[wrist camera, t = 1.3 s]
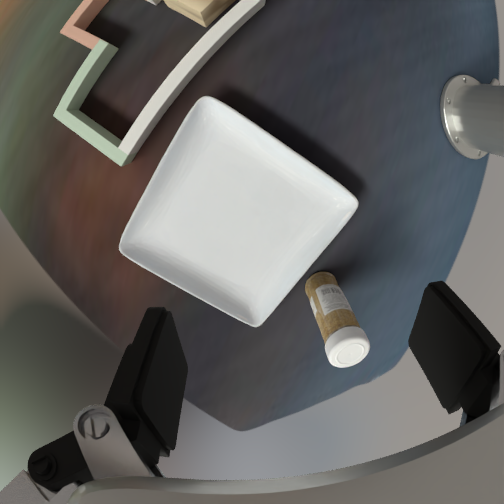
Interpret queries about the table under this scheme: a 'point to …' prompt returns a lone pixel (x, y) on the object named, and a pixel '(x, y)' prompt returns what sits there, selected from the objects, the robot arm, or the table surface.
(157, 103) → the pastel wall shelf
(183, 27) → the table surface
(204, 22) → the block
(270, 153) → the salad plate
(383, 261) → the table surface
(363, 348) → the sprinkles bottle
